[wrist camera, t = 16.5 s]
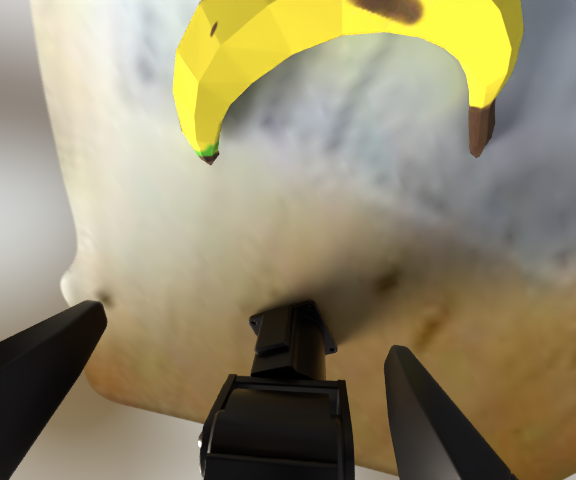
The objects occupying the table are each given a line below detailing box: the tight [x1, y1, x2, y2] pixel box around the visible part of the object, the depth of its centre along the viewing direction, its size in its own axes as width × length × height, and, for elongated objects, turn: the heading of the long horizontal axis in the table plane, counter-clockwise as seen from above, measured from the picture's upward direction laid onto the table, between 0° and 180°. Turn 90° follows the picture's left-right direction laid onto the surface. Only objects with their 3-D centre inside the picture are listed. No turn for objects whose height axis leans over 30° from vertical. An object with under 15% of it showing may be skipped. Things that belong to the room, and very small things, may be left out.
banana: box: [173, 0, 524, 165], centre depth 16 cm, size 5×17×15 cm
